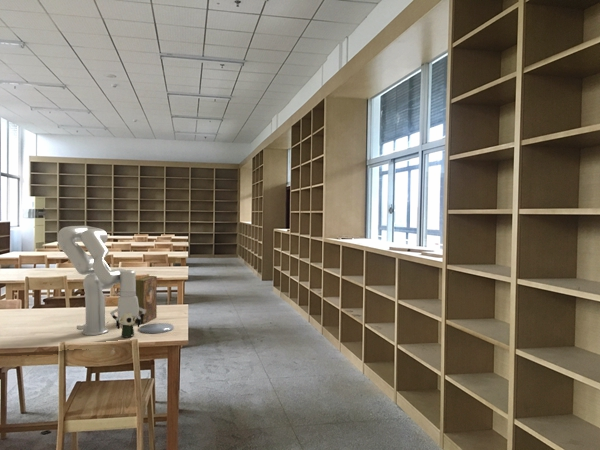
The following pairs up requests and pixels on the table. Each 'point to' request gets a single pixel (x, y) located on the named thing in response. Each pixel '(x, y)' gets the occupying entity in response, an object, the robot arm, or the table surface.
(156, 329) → the saucer
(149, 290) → the book
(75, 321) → the table surface
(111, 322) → the table surface
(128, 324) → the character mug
